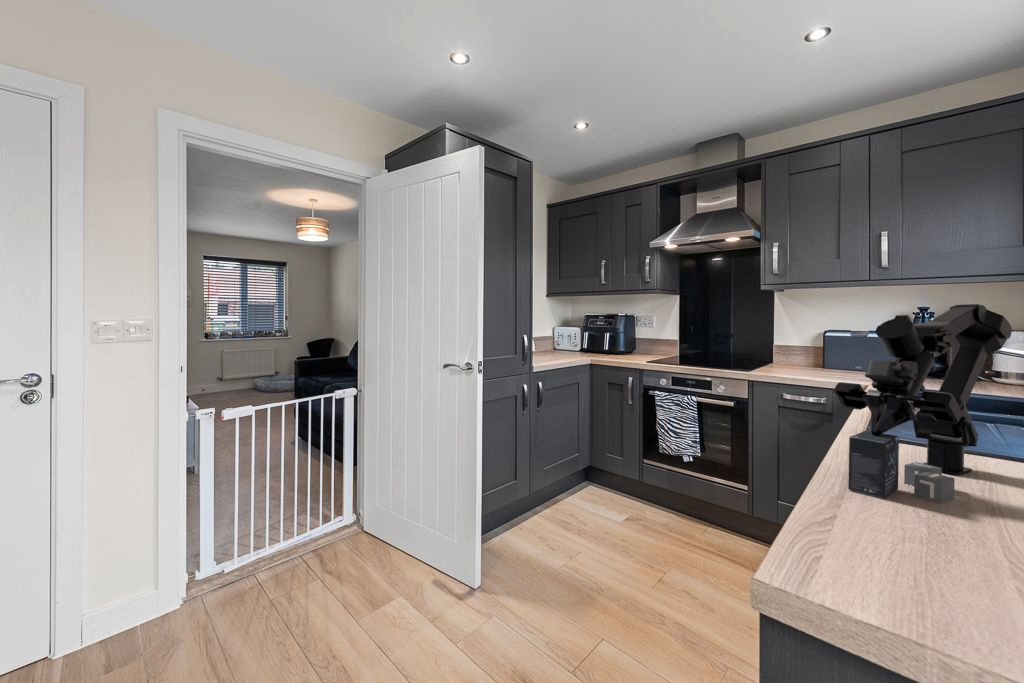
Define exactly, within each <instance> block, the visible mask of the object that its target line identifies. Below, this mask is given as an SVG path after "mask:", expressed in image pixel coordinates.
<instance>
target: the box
mask: <svg viewBox="0 0 1024 683" xmlns="http://www.w3.org/2000/svg"><path fill="white" fill-rule="evenodd" d="M848 445H849V446H848V448H849V449H848V485H847V487H848V490H849V491H852V492H855V493H859V494H863V495H867V496H870V497H874V498H878V499H885V498H887V497H888V496H890V495H891V494H892V493H894V492H895V491H897V490H898V489H899V466H900V465H899V464H900V462H899V461H900V460H899V456H900V453H899V452H900V436H899V435H894V434H888V433H883V434H881V435H879V436H876V435H873V434H872V433H871V430H870V431H869V430H863V431H862V432H859V433H856V434H854V435H851V436H849V442H848Z"/></svg>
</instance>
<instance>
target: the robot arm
mask: <svg viewBox="0 0 1024 683" xmlns="http://www.w3.org/2000/svg"><path fill="white" fill-rule="evenodd" d="M1012 331H1013V330H1012V325H1011V323H1010V322H1009V320H1008V319H1007V318H1006V317H1005V316H1004V315H1003V314H1000V313H997V312H994V311H991V310H989V309H987V307H986V306H985V305H984V304H979V303H972V304H971V303H970V304H966V303H965V304H955V305H951V306H950V308H949V310H946V311H945V312H944V313H941V314H940V315H938V316H937V317H935V318H933V319H932V320H930V321H927V322H918V323H913V321H912V320H911V317H910V316H909V315H908V314H902V315H901V314H900V315H899V314H897V315H895V316H894V318H892V319H890V320H889V319H888V320H887V321H883V323H881V324H880V325H878V326H877V327H876V329H875V334H876V335H877V337H878V339H879V341H880V343H881V346H882V347H883V349H884V350H885V352H886V354H887V355H888V356H889V357H892V358H894V359H893V360H892V361H887V360H869V361H868V363H867V367H866V371H865V374H864V377H865V378H868V379H870V380H871V381H872V382H871V383H870V385H871V386H872V388H873V389H871V388H868V389H867V390H866V391H865V389H863V387H862V385H861V383H852V382H845V381H844V382H843V381H842V382H838V383H836V384H835V386H834V388H833V391H832V392H834V394H835V396H836V397H837V399H838V400H839V402H840V403H841V405H842V406H843V407H844V408H846V409H852V410H860V411H861V410H864V409H867V408H868V410H869V411H870V431H871V433H872V434H873V435H876V436H879V435H881V434H886V432H888V431H890V430H892V429H893V428H894V429H895V428H896V427H898V426H900V425H902V424H905V423H907V422H909V421H910V422H911V421H912V423H913V428H914V433H915V438H916V439H924V440H926V441H927V442H926V443H927V444H926V446H927V447H926V448H927V449H926V462H922V464H926V465H931V466H935V467H940V468H942V473H944V474H945V473H946V474H951V475H955V476H958V475H963V474H966V473H970V472H973V469H972V468H969V467H966V466H965V447H967V448H968V447H978V441H979V433H978V431H977V430H976V428H975V425H974V424H973V422H972V417H971V415H970V413H969V410H968V409H967V407H966V406H967V403H968V401H969V398H970V397H971V395H972V392H973V390H974V387H975V385H976V382H977V381H978V378H979V376H980V374H981V371H982V369H983V366H984V365H985V362H986V360H987V358H988V356H990V355H991V354H994V353H995V352H997V351H1000V350H1002V349H1003V347H1004V346H1005V343H1007V341H1008V340H1009V339H1010V338H1011V335H1012ZM955 341H956V342H957V344H958V348H957V351H956V353H955V355H954V356H953V358H952V361H951V364H950V365H949V368H948V370H947V372H946V374H945V377H944V379H943V381H942V383H941V385H940V387H939V390H937V391H933V390H925V389H926V387H925V385H924V383H925V381H926V379H927V377H928V375H929V373H935V372H936V366H935V360H936V359H935V358H934V356H933V354H945V353H947V352H948V351H949V350H950V349H951V348H953V346H954V343H955ZM919 393H921V394H920V396H918V394H919Z"/></svg>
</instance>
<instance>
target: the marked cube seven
mask: <svg viewBox="0 0 1024 683" xmlns="http://www.w3.org/2000/svg"><path fill="white" fill-rule="evenodd" d="M913 488H914V489H913V492H914V494H913V496H915V497H919V498H923V499H926V500H929V501H931V502H936V503H940V504H945V503H947V502H951V501H954V500H955V477H951V476H948V475H947V476H946V475H943V474H941V475H939V474H935V473H931V472H923V473H919V474H915V475H914V487H913Z"/></svg>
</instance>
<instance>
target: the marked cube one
mask: <svg viewBox="0 0 1024 683" xmlns="http://www.w3.org/2000/svg"><path fill="white" fill-rule="evenodd" d="M922 463H923V462H922ZM922 463H921V462H912V463H907V464H904V474H903V475H904V479H903V480H904V483H903V484H904V485H905V484H908V485H907V486H909V485H912V486H914V475H915V474H919V473H923V472H931V473H935V474H939V475H942V473H943V472H942V468H940V467H935V466H931V465H926V464H922ZM912 486H911V487H912Z"/></svg>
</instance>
